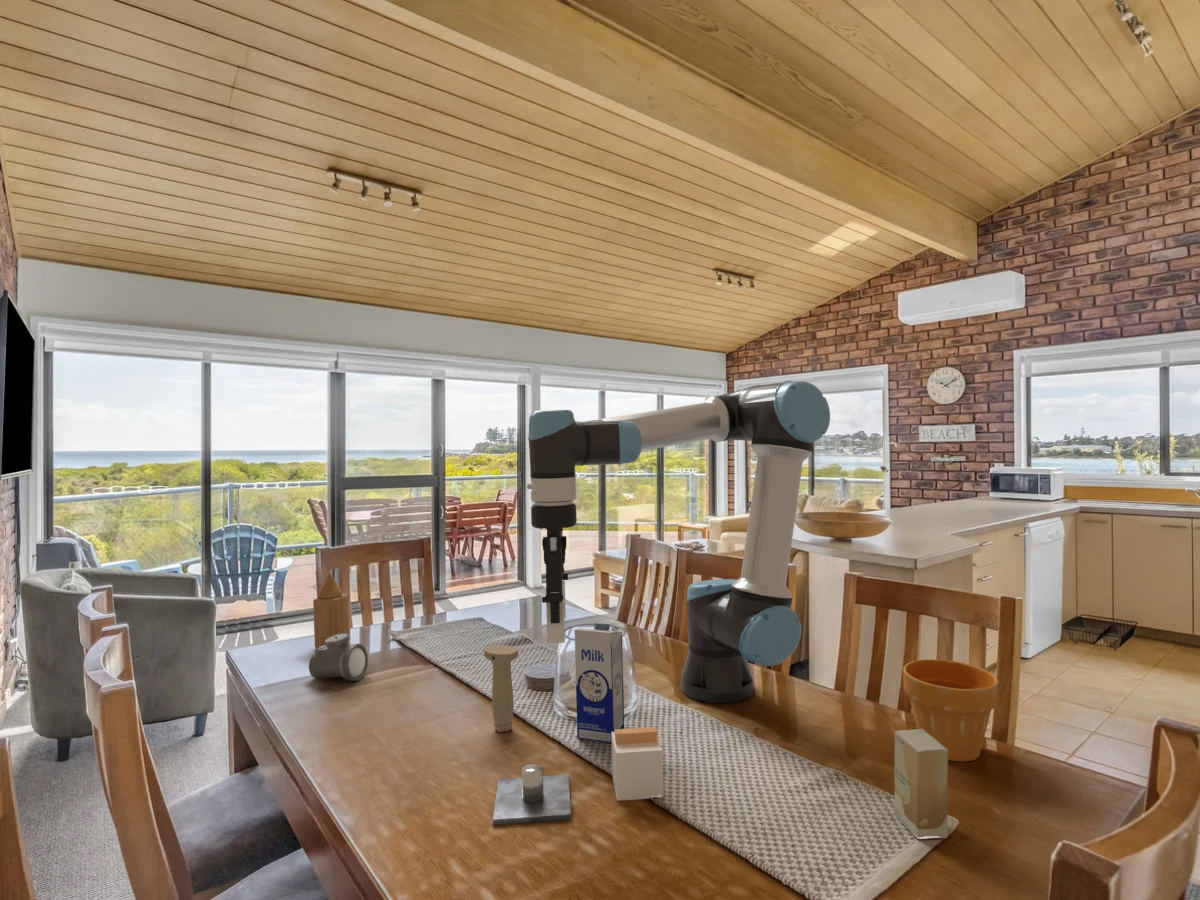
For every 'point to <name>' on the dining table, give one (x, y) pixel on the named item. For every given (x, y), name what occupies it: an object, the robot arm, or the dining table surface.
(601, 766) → the dining table surface
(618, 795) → the white block with peg
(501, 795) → the post base
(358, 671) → the pipe fitting
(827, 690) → the dining table surface
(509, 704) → the handle
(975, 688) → the flower pot
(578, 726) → the milk carton
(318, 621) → the decorative item
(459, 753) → the dining table surface
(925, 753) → the skincare box
